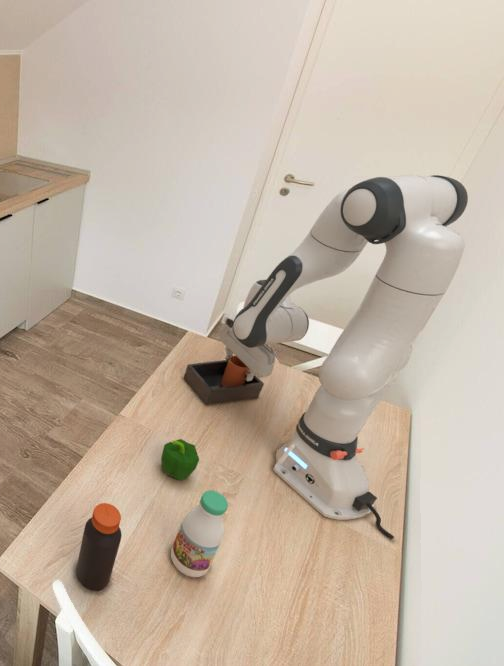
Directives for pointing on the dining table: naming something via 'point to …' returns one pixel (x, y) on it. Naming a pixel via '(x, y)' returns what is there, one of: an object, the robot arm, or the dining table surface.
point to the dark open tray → (218, 383)
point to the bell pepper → (179, 459)
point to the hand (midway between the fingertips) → (237, 369)
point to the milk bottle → (200, 535)
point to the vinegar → (99, 547)
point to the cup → (234, 372)
